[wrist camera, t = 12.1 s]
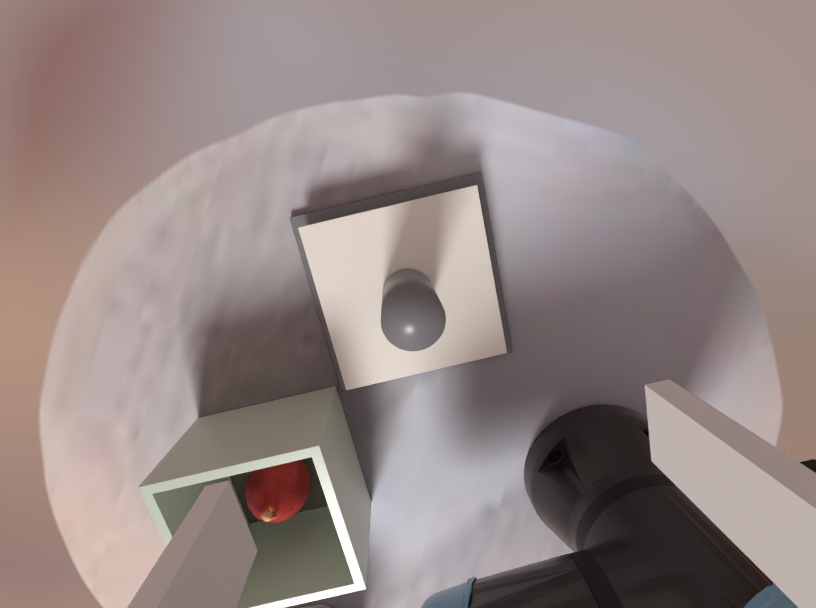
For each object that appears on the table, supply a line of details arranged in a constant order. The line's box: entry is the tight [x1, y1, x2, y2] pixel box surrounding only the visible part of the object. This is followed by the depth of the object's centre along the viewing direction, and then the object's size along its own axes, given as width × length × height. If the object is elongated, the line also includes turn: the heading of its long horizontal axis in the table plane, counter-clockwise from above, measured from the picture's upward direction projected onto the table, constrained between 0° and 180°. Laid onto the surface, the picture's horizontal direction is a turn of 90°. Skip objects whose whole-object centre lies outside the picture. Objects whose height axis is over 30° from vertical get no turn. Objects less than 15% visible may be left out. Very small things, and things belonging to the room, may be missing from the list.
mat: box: [290, 172, 512, 391], centre depth 38 cm, size 17×17×1 cm
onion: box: [245, 460, 311, 523], centre depth 38 cm, size 6×6×8 cm
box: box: [138, 386, 371, 608], centre depth 37 cm, size 14×14×10 cm
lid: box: [298, 185, 507, 390], centre depth 32 cm, size 15×15×10 cm
